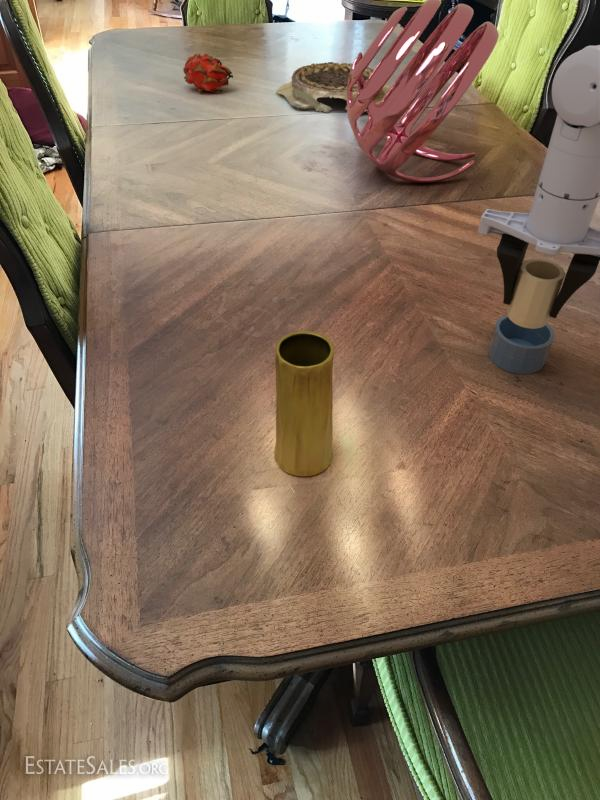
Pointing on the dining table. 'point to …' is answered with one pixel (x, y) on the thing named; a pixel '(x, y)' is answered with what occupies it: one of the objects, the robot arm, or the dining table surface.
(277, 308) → the dining table surface
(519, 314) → the cup
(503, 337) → the bowl
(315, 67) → the pie
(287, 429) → the vase
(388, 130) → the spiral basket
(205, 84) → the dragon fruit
